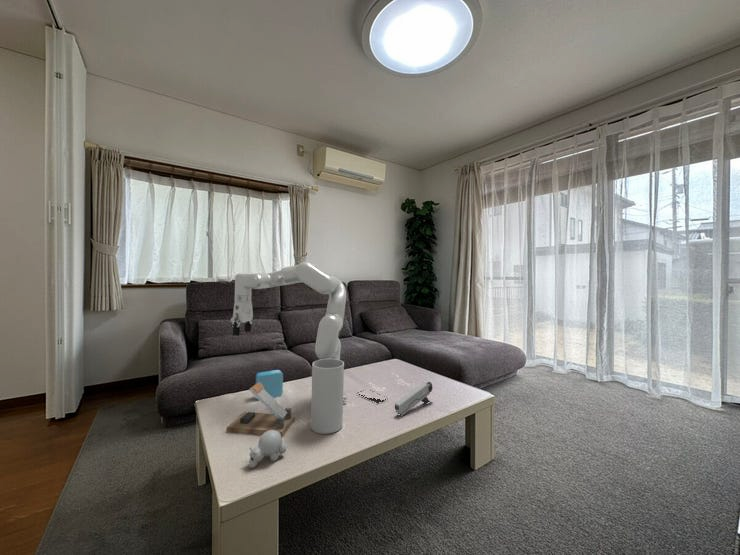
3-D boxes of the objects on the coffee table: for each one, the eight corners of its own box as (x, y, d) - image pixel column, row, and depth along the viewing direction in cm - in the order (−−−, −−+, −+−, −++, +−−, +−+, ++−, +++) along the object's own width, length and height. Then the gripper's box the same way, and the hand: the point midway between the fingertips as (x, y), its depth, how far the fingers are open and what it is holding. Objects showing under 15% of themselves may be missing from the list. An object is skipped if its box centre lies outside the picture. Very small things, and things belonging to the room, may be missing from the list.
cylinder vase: (314, 417, 117) (316, 358, 117) (344, 418, 117) (345, 359, 117) (307, 434, 104) (308, 367, 105) (340, 435, 104) (341, 369, 104)
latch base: (294, 420, 114) (295, 406, 114) (282, 437, 102) (282, 421, 102) (244, 416, 116) (244, 402, 116) (226, 432, 104) (226, 416, 104)
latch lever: (286, 414, 111) (289, 410, 111) (280, 421, 106) (283, 417, 106) (255, 384, 112) (258, 381, 112) (248, 390, 107) (252, 386, 107)
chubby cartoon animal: (247, 469, 89) (237, 448, 86) (280, 441, 96) (271, 421, 94) (256, 481, 83) (245, 459, 81) (290, 450, 91) (281, 429, 89)
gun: (435, 399, 135) (432, 380, 134) (400, 427, 119) (397, 406, 118) (430, 397, 137) (428, 378, 136) (396, 425, 121) (393, 404, 120)
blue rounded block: (280, 392, 141) (280, 369, 141) (282, 396, 137) (283, 371, 137) (255, 397, 135) (255, 372, 135) (256, 401, 131) (257, 375, 131)
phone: (367, 389, 147) (388, 398, 136) (367, 391, 147) (388, 400, 136) (356, 393, 141) (377, 402, 131) (356, 395, 141) (377, 405, 131)
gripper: (239, 300, 128) (239, 337, 128) (259, 297, 145) (258, 330, 145) (224, 299, 128) (223, 336, 128) (245, 297, 146) (245, 329, 146)
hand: (242, 333), depth 137 cm, fingers open, 9 cm apart
